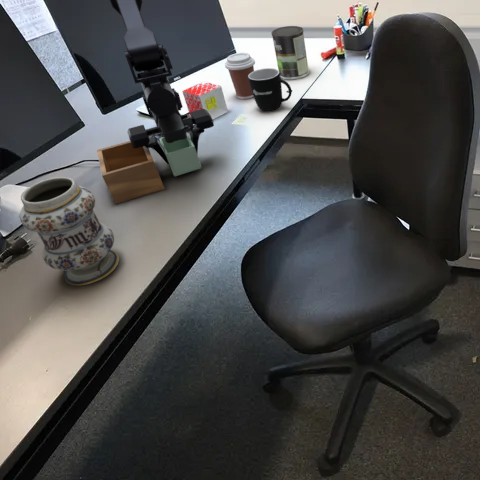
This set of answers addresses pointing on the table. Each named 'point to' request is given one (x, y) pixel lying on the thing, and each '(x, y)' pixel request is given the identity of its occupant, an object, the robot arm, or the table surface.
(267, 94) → the mug
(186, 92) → the red and white cube
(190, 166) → the bin
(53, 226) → the apothecary jar
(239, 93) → the coffee cup
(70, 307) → the table surface
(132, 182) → the crate
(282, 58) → the coffee can
